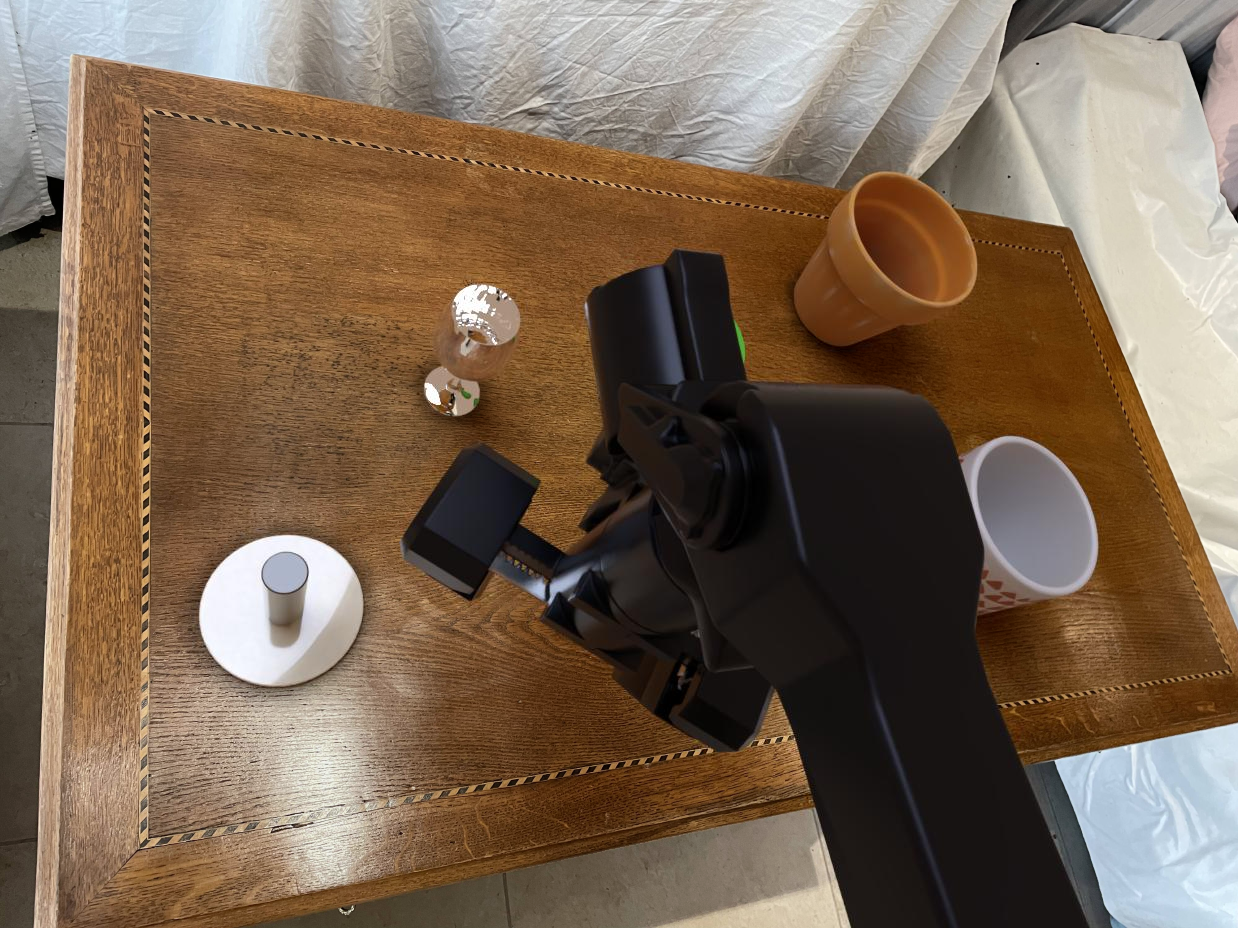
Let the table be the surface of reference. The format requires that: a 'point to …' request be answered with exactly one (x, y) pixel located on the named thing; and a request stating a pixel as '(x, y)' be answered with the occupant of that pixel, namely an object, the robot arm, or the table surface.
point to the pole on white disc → (281, 610)
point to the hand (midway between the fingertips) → (549, 628)
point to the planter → (1028, 523)
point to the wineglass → (471, 347)
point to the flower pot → (885, 262)
